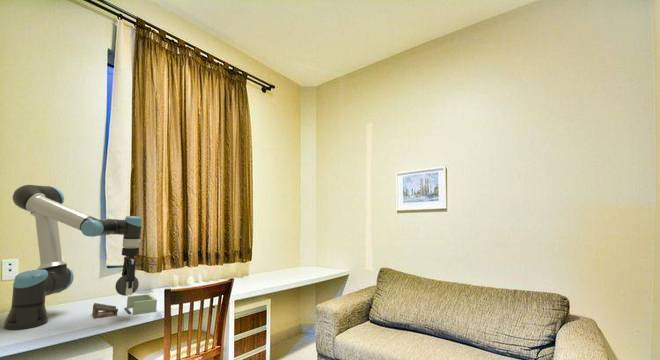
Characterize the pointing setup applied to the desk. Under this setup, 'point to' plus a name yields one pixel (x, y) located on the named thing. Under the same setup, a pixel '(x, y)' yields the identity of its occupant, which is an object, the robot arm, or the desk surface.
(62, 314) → the desk surface
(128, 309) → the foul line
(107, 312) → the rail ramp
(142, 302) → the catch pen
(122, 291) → the decorative ball
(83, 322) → the desk surface
